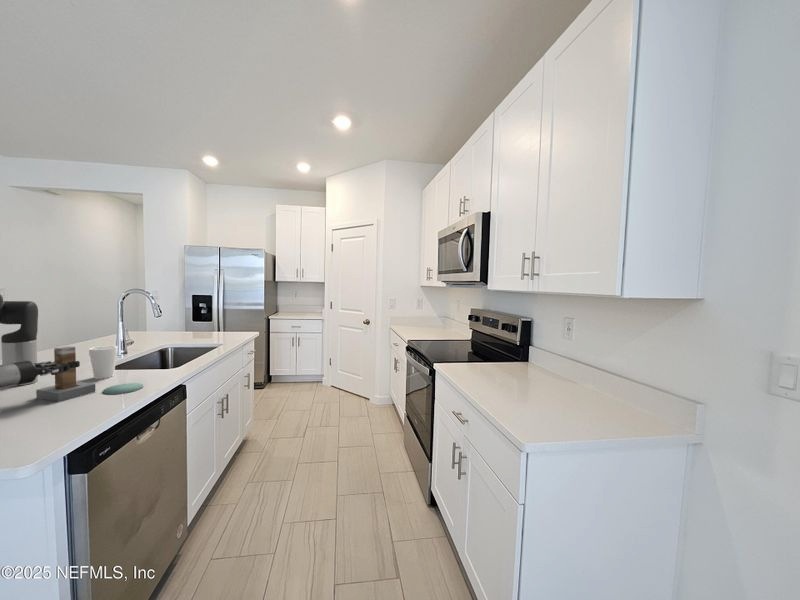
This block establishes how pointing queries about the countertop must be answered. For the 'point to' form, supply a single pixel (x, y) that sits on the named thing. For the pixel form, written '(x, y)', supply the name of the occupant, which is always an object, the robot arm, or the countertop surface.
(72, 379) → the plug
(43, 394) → the socket block
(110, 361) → the foam cup
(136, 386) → the mat
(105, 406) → the countertop surface
